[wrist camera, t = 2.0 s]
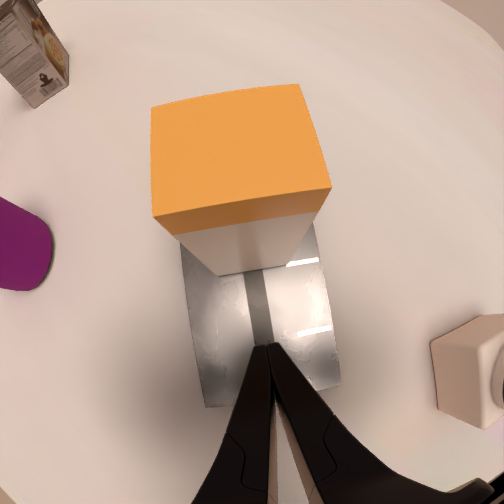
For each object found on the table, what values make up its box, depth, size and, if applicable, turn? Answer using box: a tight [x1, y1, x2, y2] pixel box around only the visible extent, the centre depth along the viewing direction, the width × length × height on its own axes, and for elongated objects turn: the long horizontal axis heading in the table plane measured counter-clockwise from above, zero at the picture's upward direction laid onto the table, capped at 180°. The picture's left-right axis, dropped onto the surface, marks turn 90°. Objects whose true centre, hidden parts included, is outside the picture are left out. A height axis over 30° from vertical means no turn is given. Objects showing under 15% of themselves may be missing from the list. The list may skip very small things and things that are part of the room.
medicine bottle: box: [430, 314, 504, 430], centre depth 14 cm, size 7×7×12 cm
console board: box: [180, 222, 342, 408], centre depth 22 cm, size 21×10×2 cm, turn 9°
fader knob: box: [151, 84, 332, 276], centre depth 15 cm, size 4×5×13 cm
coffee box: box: [0, 0, 69, 108], centre depth 21 cm, size 9×6×16 cm
